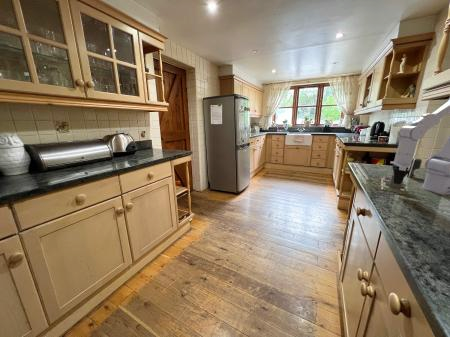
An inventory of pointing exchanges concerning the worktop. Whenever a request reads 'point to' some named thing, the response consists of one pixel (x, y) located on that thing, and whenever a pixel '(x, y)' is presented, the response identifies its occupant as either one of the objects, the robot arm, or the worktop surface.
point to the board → (385, 184)
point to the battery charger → (414, 167)
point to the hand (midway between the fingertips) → (396, 182)
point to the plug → (391, 183)
